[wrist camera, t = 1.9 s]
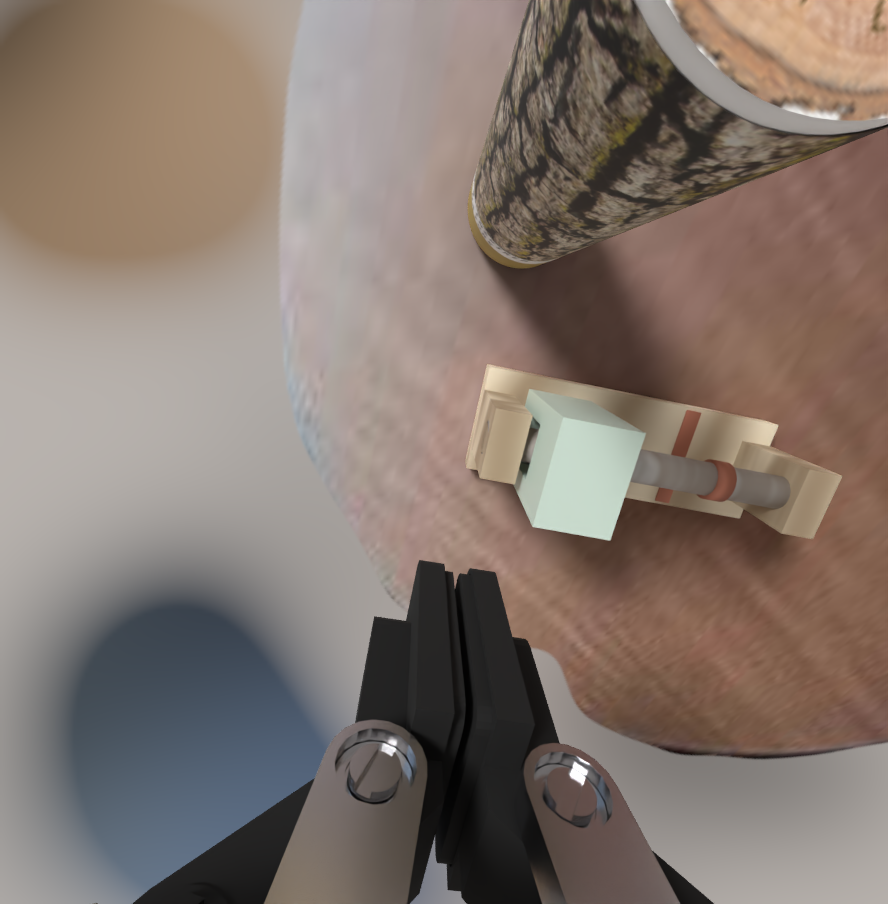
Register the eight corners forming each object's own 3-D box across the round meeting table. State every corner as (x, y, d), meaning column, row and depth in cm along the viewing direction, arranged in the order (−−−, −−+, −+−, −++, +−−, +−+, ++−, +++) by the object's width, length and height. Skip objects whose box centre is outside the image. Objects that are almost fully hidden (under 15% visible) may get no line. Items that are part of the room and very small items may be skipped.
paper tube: (533, 291, 31) (897, 232, 7) (445, 228, 29) (498, -122, 5) (599, 192, 29) (1386, -354, 5) (508, 122, 28) (974, -1032, 4)
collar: (591, 401, 30) (646, 433, 22) (566, 483, 31) (610, 540, 24) (529, 388, 29) (563, 417, 22) (507, 472, 31) (532, 526, 23)
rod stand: (763, 420, 33) (854, 450, 26) (727, 510, 35) (802, 561, 28) (487, 364, 32) (502, 380, 25) (465, 461, 34) (473, 502, 27)
